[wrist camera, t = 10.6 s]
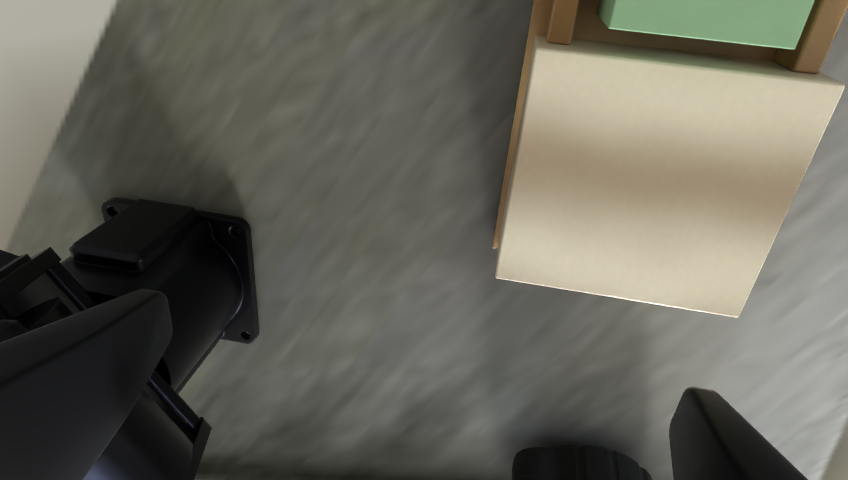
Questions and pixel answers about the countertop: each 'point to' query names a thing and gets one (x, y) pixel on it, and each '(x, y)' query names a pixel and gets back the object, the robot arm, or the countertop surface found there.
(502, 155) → the countertop surface
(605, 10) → the green rectangular block
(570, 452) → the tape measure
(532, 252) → the frame
